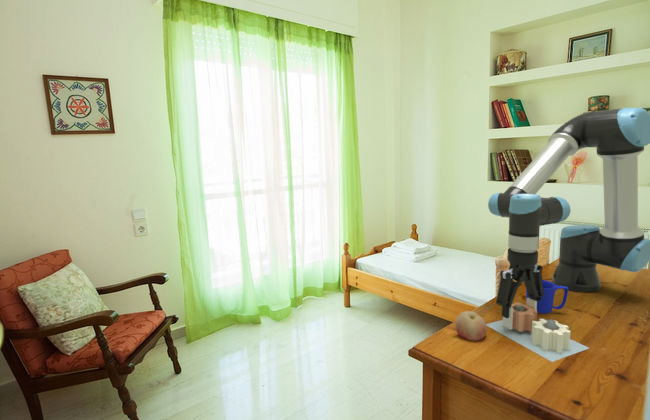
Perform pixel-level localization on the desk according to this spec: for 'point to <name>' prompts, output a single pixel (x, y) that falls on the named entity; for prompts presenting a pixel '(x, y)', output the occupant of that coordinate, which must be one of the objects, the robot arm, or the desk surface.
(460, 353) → the desk surface
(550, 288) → the mug
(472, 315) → the fruit
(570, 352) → the gear board
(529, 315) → the loose gear
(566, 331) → the gear
